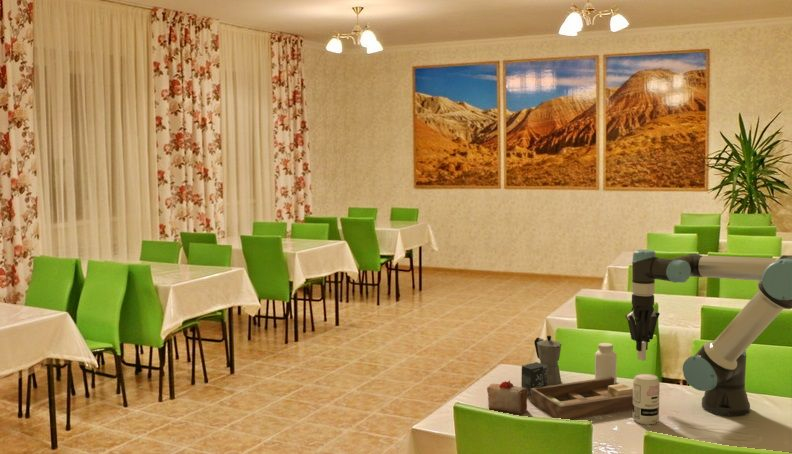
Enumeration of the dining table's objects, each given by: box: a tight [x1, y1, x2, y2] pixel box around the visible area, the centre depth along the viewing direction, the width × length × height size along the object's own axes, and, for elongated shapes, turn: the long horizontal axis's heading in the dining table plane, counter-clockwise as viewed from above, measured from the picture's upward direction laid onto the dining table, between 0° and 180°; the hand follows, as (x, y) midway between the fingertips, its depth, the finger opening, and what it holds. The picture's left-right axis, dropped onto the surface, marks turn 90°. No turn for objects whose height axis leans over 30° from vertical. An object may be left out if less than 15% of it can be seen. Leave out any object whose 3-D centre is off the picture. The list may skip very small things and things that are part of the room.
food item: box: [486, 379, 528, 415], centre depth 256 cm, size 14×8×10 cm, turn 59°
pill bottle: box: [594, 342, 618, 385], centre depth 281 cm, size 8×8×15 cm
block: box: [608, 383, 633, 397], centre depth 259 cm, size 6×6×4 cm
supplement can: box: [632, 373, 661, 426], centre depth 242 cm, size 8×8×15 cm
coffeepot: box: [534, 335, 562, 386], centre depth 285 cm, size 15×9×18 cm, turn 26°
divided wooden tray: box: [530, 377, 633, 420], centre depth 259 cm, size 20×34×5 cm, turn 109°
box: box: [521, 361, 548, 397], centre depth 272 cm, size 8×6×11 cm
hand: (641, 359), depth 261 cm, fingers closed
